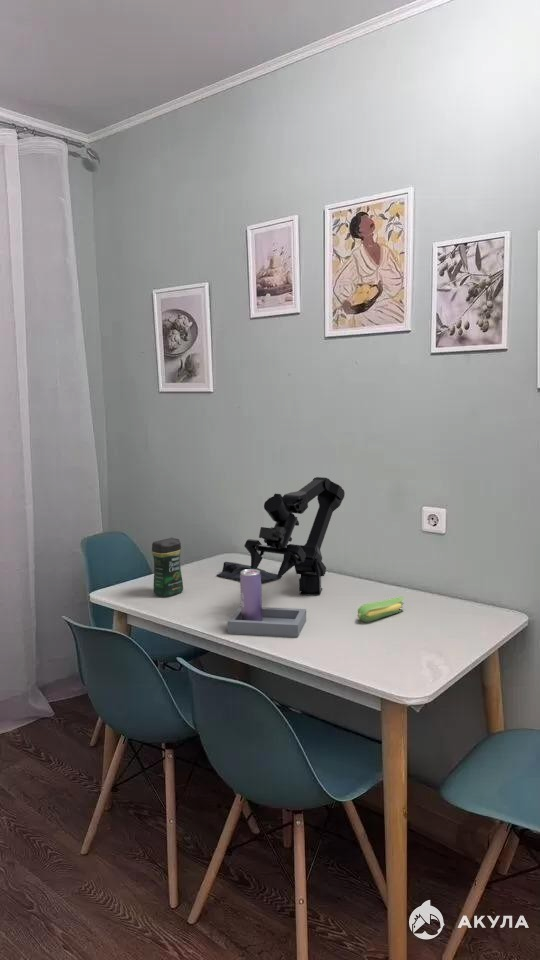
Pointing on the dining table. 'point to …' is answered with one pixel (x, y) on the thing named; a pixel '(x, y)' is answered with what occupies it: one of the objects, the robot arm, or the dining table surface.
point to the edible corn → (379, 609)
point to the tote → (270, 622)
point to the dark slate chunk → (235, 569)
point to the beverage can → (251, 595)
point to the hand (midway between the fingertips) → (264, 575)
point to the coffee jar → (167, 567)
